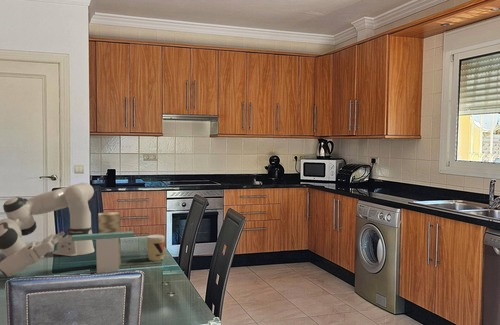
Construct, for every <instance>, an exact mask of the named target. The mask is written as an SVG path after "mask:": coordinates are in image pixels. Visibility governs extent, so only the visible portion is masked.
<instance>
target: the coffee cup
mask: <svg viewBox="0 0 500 325" xmlns="http://www.w3.org/2000/svg"><path fill="white" fill-rule="evenodd" d="M165 239H166V238H165V235H164V234H150V235H147V236H146V243H147V255H148V260H149V261H162V260H164V256H165ZM161 259H162V260H161Z"/></svg>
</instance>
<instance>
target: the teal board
mask: <svg viewBox="0 0 500 325" xmlns="http://www.w3.org/2000/svg"><path fill="white" fill-rule="evenodd" d="M134 237H135V232H134V231H120V232H114V233H99V232H98V233H92V234H82V235H72V241H82V240H92V241H94V240H95V241H96V240H97V239H112V238H120V239H125V238H127V239H128V238H134Z"/></svg>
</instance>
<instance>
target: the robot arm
mask: <svg viewBox="0 0 500 325" xmlns="http://www.w3.org/2000/svg"><path fill="white" fill-rule="evenodd" d="M94 193H95V190H94V187H93V186H92V185H91V184H89V183H87V182H79V183H76V184H73V185H69V186H65V187H62V188H58V189H55V190H51V191H47V192H44V193H40V194H38V195H34V196H33V197H31V198H28V199H27V198H23V197H21V196H20V197H19V196H18V197H17V196H16V197H12V198H10V199H8V200H6V201H5V202H4V204H3V205H2V207H3V208H2V209H3V211H4V213H5V216H6V218H3V219H0V252H1V253H2V254H4V256H5V258H4V259H2V260H1V261H0V272H1V274H3V276H5V277H7V278H10V277H12V276H15V275H17V274H19V273H22V272H23V271H24V270H25V269H27V268H28V267H30V266H31V265H34V264H36V263H37V262H39V261H41V260H42V259H44V258H45V255H46V254H47V253H49V252H50V251H51V250H52V249H54V247H55V245H56V244H57V245H56V246H57V247H56V249H55V250H53V251H52V254H53V255H61V256H69V257H75V256H83V255H89V254H92V253H94V252H95V250H96V249H95V248H94V247H95V246H94V243H93V242H94V241H93V240H82V241H72V235H82V234H93V227H92V212H91V210H90V208H89V207H90V205H89V201H90V200H92V197H93V196H94ZM65 208H68V211H69V223H70V224H69V225H70V228H68V229H66V231H65V232H66V233H67V234H66V235H65V232H64V231H60V232H59V233H56V234H55V233H52V234H50V235H48V236H46V238H44V239H42V240H41V241H37V242H35V241H32V242H30V243H26V242H25V241H24V240H23V239H22V237H24V236H29V235H30V234H32V233H34V232H35V231H36V230H37V222H36V220H35V219H34V216H36V215H37V216H38V215H43V214H47V213H51V212H55V211H58V210H62V209H65Z"/></svg>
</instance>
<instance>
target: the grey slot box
mask: <svg viewBox="0 0 500 325" xmlns="http://www.w3.org/2000/svg"><path fill="white" fill-rule="evenodd" d="M95 243H96V245H95V247H96V249H95V250H96V252H95V253H96V254H95V255H96V274H97V273H100V272H106V271H107V272H109V271H118V270H119V271H120V266H119V242H118V238H112V239H97V240H95Z"/></svg>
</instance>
